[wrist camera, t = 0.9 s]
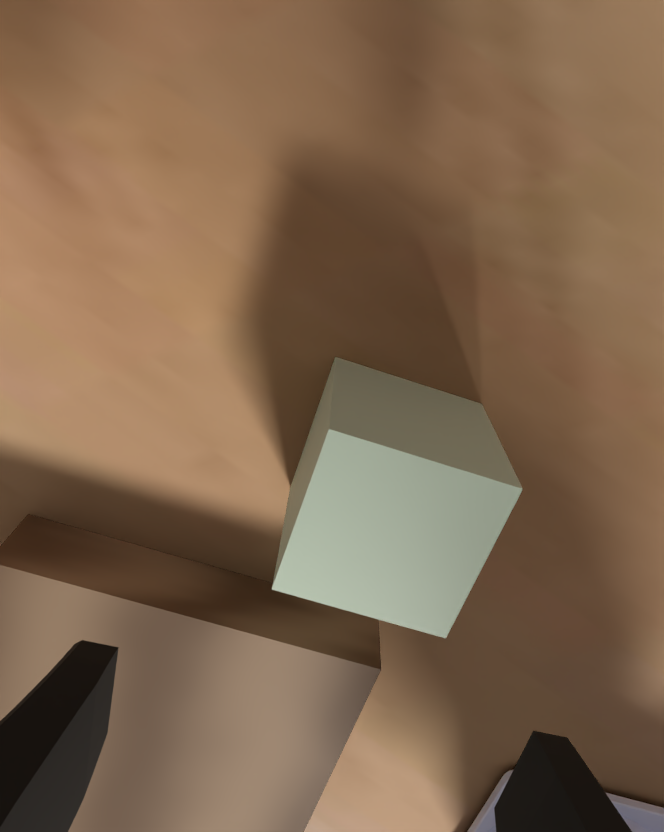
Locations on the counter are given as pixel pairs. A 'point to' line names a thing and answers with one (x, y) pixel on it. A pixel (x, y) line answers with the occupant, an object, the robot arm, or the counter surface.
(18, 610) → the walnut slab
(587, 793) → the robot arm
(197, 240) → the counter surface
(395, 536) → the sage block
